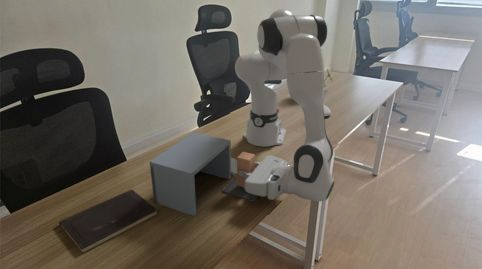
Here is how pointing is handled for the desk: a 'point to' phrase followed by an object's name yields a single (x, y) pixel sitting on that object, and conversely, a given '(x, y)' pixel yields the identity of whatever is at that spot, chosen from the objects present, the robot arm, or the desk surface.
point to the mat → (238, 190)
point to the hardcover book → (107, 219)
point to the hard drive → (233, 166)
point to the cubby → (188, 169)
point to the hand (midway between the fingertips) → (243, 168)
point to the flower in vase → (326, 109)
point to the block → (245, 166)
